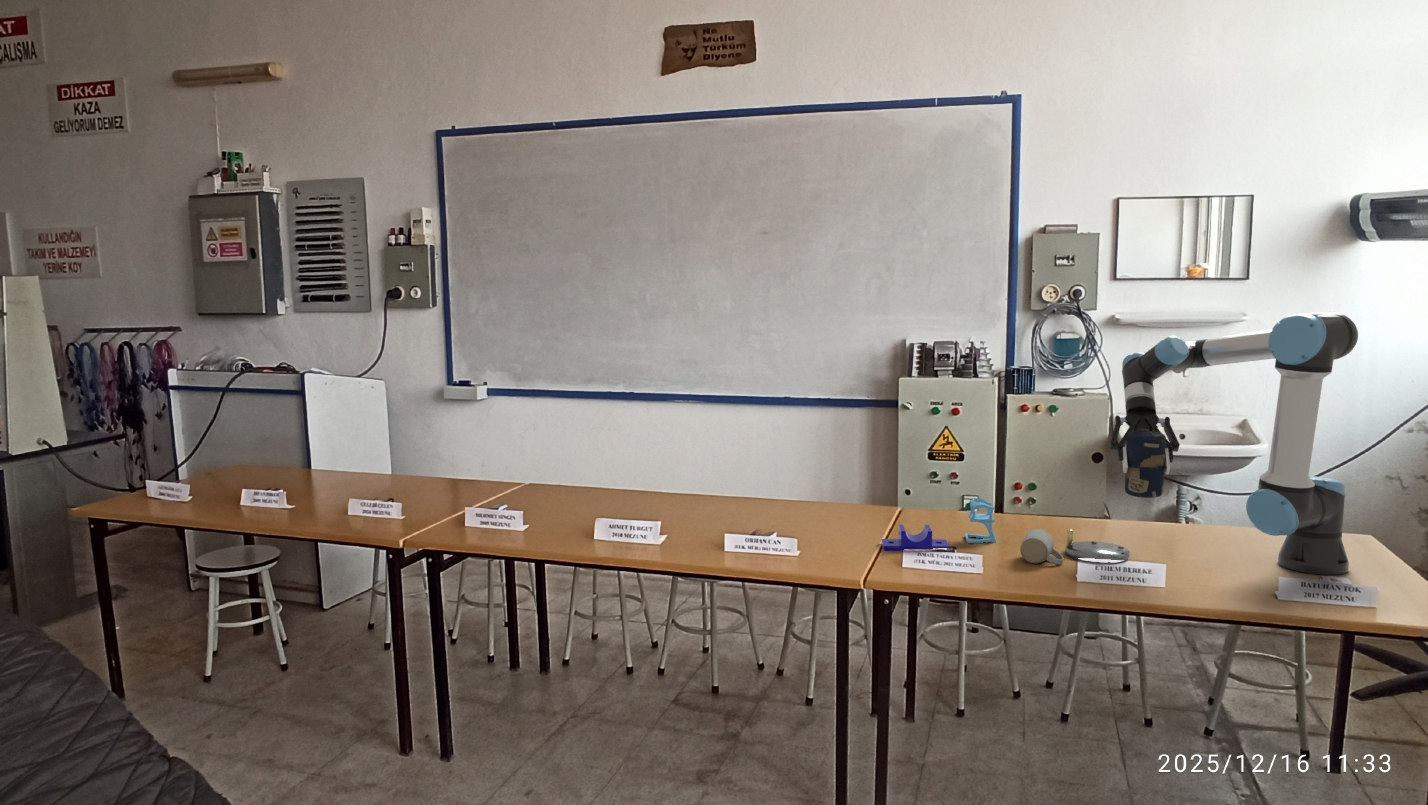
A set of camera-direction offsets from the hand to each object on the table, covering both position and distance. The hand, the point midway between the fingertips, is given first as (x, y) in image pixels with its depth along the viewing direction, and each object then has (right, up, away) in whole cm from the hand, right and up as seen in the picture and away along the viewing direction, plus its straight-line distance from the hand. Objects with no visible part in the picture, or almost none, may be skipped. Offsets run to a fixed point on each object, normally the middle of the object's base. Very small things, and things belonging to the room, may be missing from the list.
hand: (1146, 470), depth 249 cm
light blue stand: (-37, -22, +23) cm, 49 cm away
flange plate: (-10, -23, +6) cm, 26 cm away
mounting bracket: (-57, -23, +17) cm, 64 cm away
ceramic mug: (-27, -24, +2) cm, 36 cm away
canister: (+1, -7, +4) cm, 8 cm away
